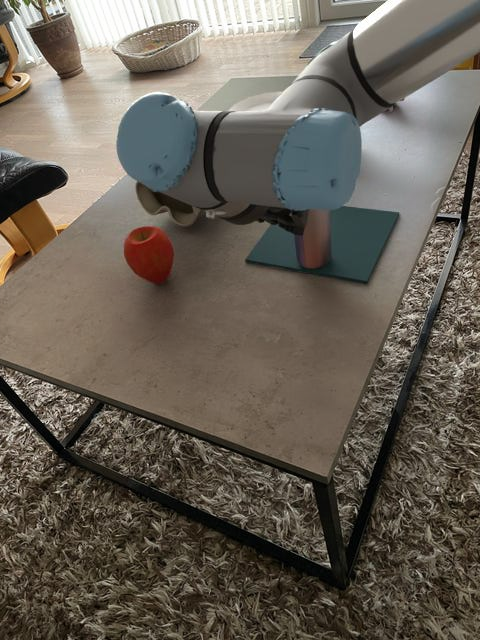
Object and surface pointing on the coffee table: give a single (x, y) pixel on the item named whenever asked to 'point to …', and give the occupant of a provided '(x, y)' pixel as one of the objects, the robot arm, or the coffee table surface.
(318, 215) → the beverage can
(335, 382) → the coffee table surface
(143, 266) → the apple
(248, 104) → the plate
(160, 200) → the vase
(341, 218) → the mat
